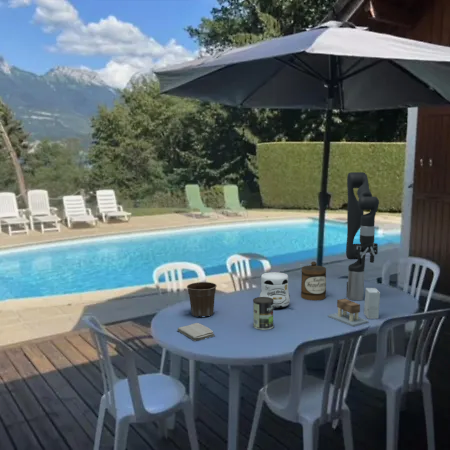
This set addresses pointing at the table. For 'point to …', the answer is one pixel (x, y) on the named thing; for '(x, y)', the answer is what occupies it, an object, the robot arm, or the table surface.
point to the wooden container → (313, 282)
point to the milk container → (275, 288)
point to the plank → (348, 306)
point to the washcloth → (196, 331)
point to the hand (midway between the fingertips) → (366, 263)
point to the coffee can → (263, 313)
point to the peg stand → (348, 318)
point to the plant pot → (202, 298)
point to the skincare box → (372, 303)
